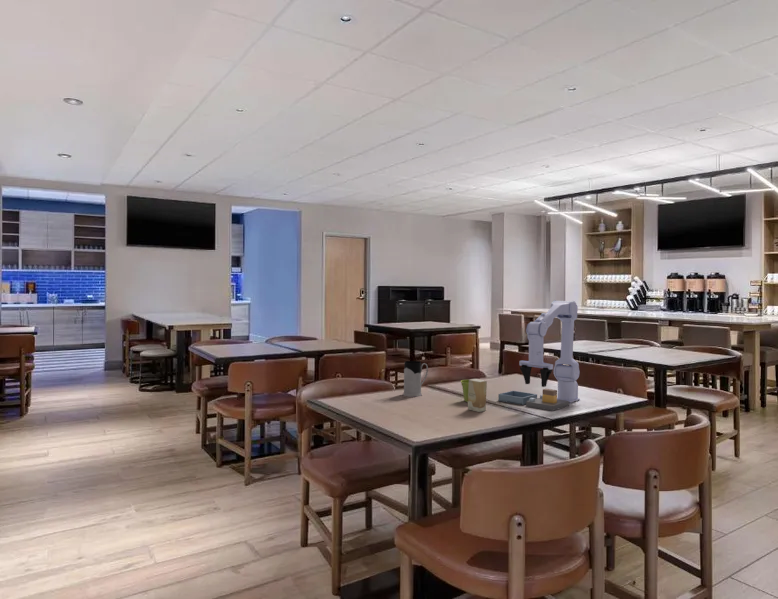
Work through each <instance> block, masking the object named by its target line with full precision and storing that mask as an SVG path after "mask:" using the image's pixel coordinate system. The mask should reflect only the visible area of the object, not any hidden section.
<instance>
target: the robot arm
mask: <svg viewBox="0 0 778 599" xmlns="http://www.w3.org/2000/svg"><path fill="white" fill-rule="evenodd" d="M578 307H579V306H578V305H577V303H576V300H575V301H574V300H569V301H568V300H553V301H552V302H551V303H550V308H549V310H548V311H547V312H542V313H541V314H540V315H539V316H538V317H537V318H536V319H535V320H534V321H530V322H529V323H527V324H526V329H525V332H526V334H527V340H528V360H519V364H518V365H519V366H520V367H519V369H520V372H521V374H522V376H523V379H524V383H525V385H530V384H531V372H532V369H533V368H536V369H537V368H538V369H539V372H540V378H541V383H540V385H541V388H545V387H547V384H548V380H549V378H550V375H551V374H552V372H553V375H554V377H555V379H556V380H557V399H559V400H566V401H569V403H573V402H577V401H580V397H579V384H578V382H577V380H578V379H579V377H580V373H581V372H580V365H579V364H580V363H579V362H578V361H576V360H575V359H574V357H573V354H574V335H575V334H574V333H575V332H574V329H575V321H576V320H578V309H579V308H578ZM555 318H557V319H558V320H560V321H561V342H560V357H559V358H558V359H557V360H555V361H554V364H552V363H549V362H548V363H547V362H544V346H545V345H544V337H546V335H547V331H548V329H549V327H550V326H552V325H553V323H554V319H555Z"/></svg>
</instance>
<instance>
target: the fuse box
mask: <svg viewBox="0 0 778 599" xmlns="http://www.w3.org/2000/svg"><path fill="white" fill-rule="evenodd" d="M542 396H543V394H540V396H539V397H537V399H535V398H529V401H526V404H525V407H528V408H533V409H540V410H544V411H551V412H553V411H557V410H560V409H562V408H566V407H569V406H570V405H569V404H570V402H569V401H566V400H559V399H557V403H549V402H543V401H542Z"/></svg>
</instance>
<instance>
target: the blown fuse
mask: <svg viewBox="0 0 778 599" xmlns="http://www.w3.org/2000/svg"><path fill="white" fill-rule="evenodd" d="M542 395H543V396H542V401H543V402H549V403H557V398H558V389H551V388H543V389H542Z"/></svg>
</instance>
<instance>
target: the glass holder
mask: <svg viewBox="0 0 778 599" xmlns="http://www.w3.org/2000/svg"><path fill="white" fill-rule="evenodd" d="M424 365H425V366H426V369H425V370H426V372H425V375H424V379H422V372H423V366H424ZM428 372H429V366H428V364H427V363H425V362H424V363H422V362H421V361H419V360H407V361H404V369H403V393H402V396H404V397H409V398H410V397H411V398H412V397H414V398H415V397H421V396H422V386H423V383H424V382H425V381H426V379H427V376H428Z"/></svg>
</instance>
